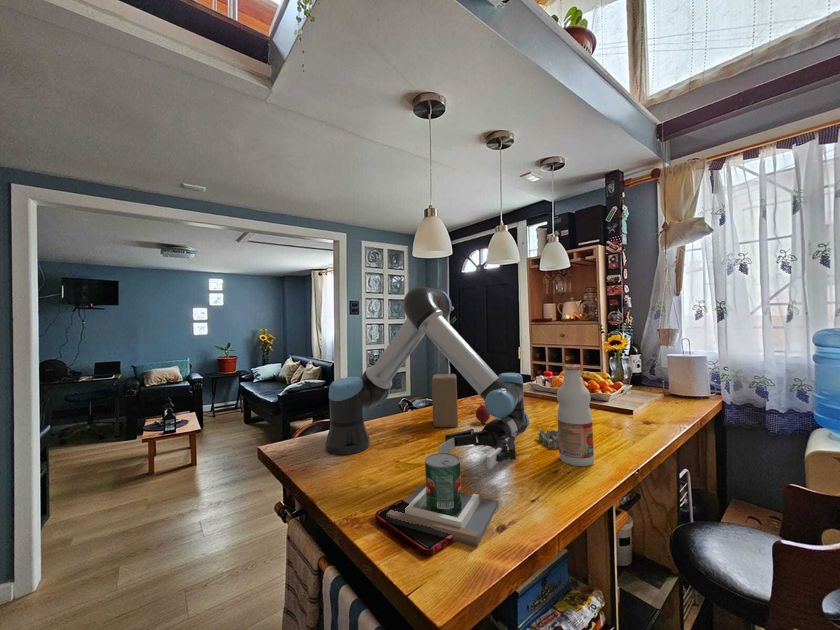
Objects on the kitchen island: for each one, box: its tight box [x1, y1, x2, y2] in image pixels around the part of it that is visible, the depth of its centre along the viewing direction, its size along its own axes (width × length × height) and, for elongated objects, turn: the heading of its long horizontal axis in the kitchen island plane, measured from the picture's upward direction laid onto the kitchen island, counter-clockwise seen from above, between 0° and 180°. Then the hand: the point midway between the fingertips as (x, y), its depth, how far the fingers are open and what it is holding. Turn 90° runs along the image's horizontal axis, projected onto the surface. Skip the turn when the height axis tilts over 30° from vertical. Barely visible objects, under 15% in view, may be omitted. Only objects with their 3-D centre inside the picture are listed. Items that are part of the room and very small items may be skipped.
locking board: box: [386, 484, 499, 548], centre depth 76 cm, size 20×16×3 cm
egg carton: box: [537, 427, 559, 449], centre depth 116 cm, size 11×8×4 cm
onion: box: [475, 403, 491, 424], centre depth 141 cm, size 6×6×8 cm
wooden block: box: [431, 373, 459, 428], centre depth 142 cm, size 10×10×20 cm
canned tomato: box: [424, 452, 462, 517], centre depth 76 cm, size 8×8×11 cm
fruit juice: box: [556, 364, 595, 467], centre depth 101 cm, size 9×9×28 cm
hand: (462, 456), depth 83 cm, fingers open, 13 cm apart
